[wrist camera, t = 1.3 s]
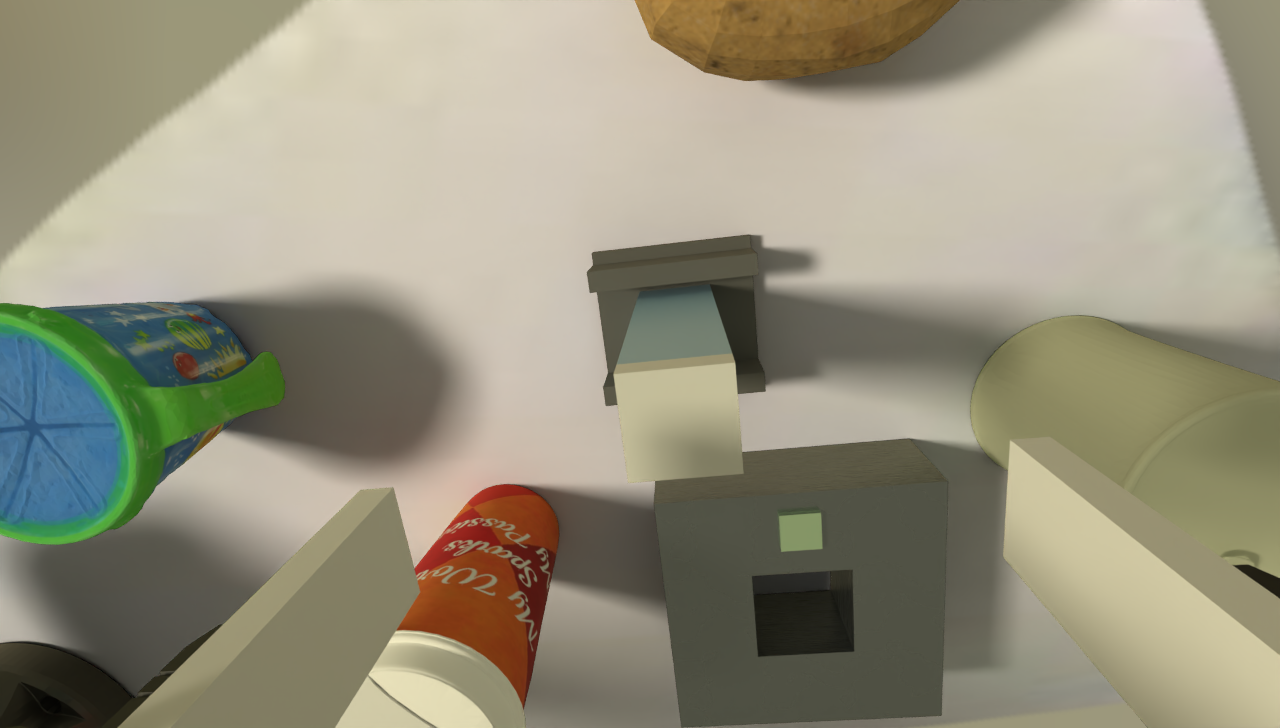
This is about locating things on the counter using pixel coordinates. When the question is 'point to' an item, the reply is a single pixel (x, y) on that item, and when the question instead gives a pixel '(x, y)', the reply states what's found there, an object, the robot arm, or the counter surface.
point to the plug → (678, 389)
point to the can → (1146, 426)
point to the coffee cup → (468, 622)
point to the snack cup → (112, 408)
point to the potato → (786, 33)
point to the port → (817, 620)
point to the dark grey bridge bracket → (681, 266)
